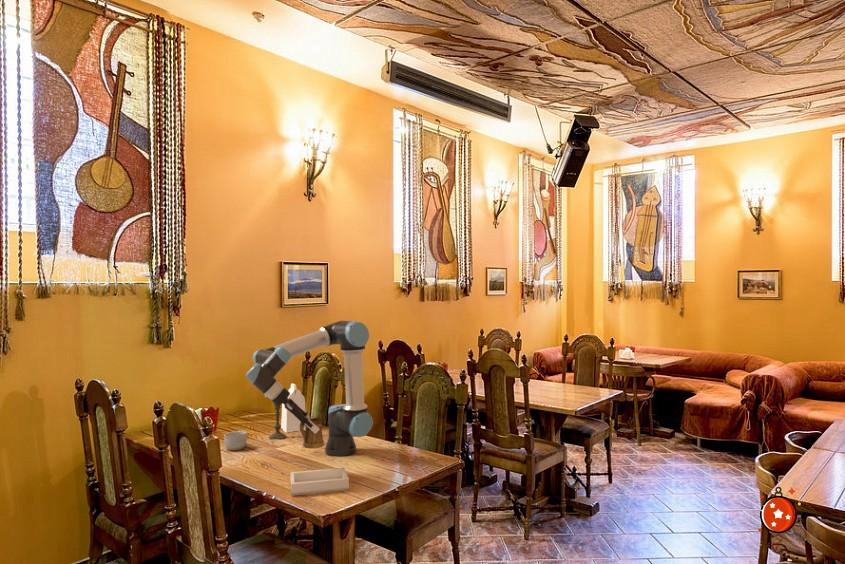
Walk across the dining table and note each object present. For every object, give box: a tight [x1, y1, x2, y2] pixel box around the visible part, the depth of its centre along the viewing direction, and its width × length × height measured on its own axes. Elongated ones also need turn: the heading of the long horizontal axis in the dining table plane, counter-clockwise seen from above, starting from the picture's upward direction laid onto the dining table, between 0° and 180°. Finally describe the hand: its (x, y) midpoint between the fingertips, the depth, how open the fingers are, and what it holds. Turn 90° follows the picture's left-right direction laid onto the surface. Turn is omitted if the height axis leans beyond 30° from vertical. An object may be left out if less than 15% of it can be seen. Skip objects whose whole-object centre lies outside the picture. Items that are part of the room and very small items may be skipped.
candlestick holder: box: [268, 403, 287, 440], centre depth 303 cm, size 9×9×30 cm
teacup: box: [223, 430, 247, 452], centre depth 282 cm, size 14×11×8 cm
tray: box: [289, 467, 350, 497], centre depth 223 cm, size 22×15×4 cm
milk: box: [280, 383, 307, 433], centre depth 321 cm, size 12×12×26 cm
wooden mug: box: [295, 407, 325, 449], centre depth 238 cm, size 9×14×18 cm, turn 130°
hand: (316, 429), depth 239 cm, fingers closed on wooden mug, 7 cm apart
